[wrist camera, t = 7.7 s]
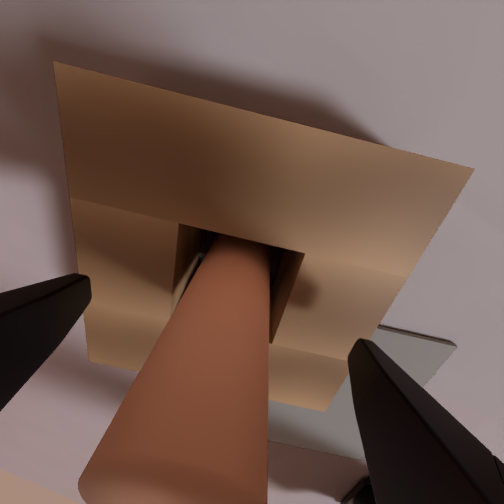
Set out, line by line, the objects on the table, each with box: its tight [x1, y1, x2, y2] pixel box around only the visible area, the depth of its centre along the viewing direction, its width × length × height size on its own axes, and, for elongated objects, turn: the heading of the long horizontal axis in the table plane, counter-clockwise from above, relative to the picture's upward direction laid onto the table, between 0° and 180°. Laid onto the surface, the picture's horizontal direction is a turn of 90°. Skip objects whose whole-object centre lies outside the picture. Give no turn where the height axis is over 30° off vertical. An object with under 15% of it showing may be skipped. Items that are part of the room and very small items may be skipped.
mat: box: [268, 326, 457, 460], centre depth 17 cm, size 14×10×1 cm
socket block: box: [53, 61, 475, 412], centre depth 11 cm, size 12×12×4 cm
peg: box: [78, 233, 270, 504], centre depth 8 cm, size 3×3×10 cm
